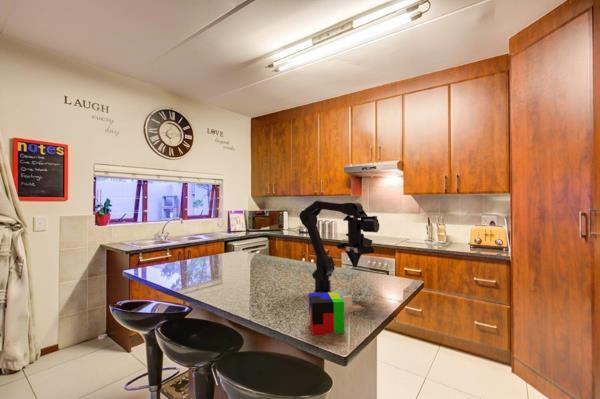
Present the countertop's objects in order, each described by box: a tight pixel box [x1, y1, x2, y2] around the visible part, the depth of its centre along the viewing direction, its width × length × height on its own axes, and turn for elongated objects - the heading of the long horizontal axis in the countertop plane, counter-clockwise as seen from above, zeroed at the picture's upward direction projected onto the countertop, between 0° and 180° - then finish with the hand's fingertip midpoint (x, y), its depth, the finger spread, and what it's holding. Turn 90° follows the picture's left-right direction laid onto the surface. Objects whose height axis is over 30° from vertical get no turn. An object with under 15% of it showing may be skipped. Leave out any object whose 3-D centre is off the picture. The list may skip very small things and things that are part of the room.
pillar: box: [330, 289, 353, 308], centre depth 115 cm, size 4×4×9 cm
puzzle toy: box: [308, 291, 346, 336], centre depth 94 cm, size 10×10×10 cm
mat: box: [344, 301, 366, 315], centre depth 113 cm, size 14×10×1 cm
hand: (355, 267), depth 124 cm, fingers closed
